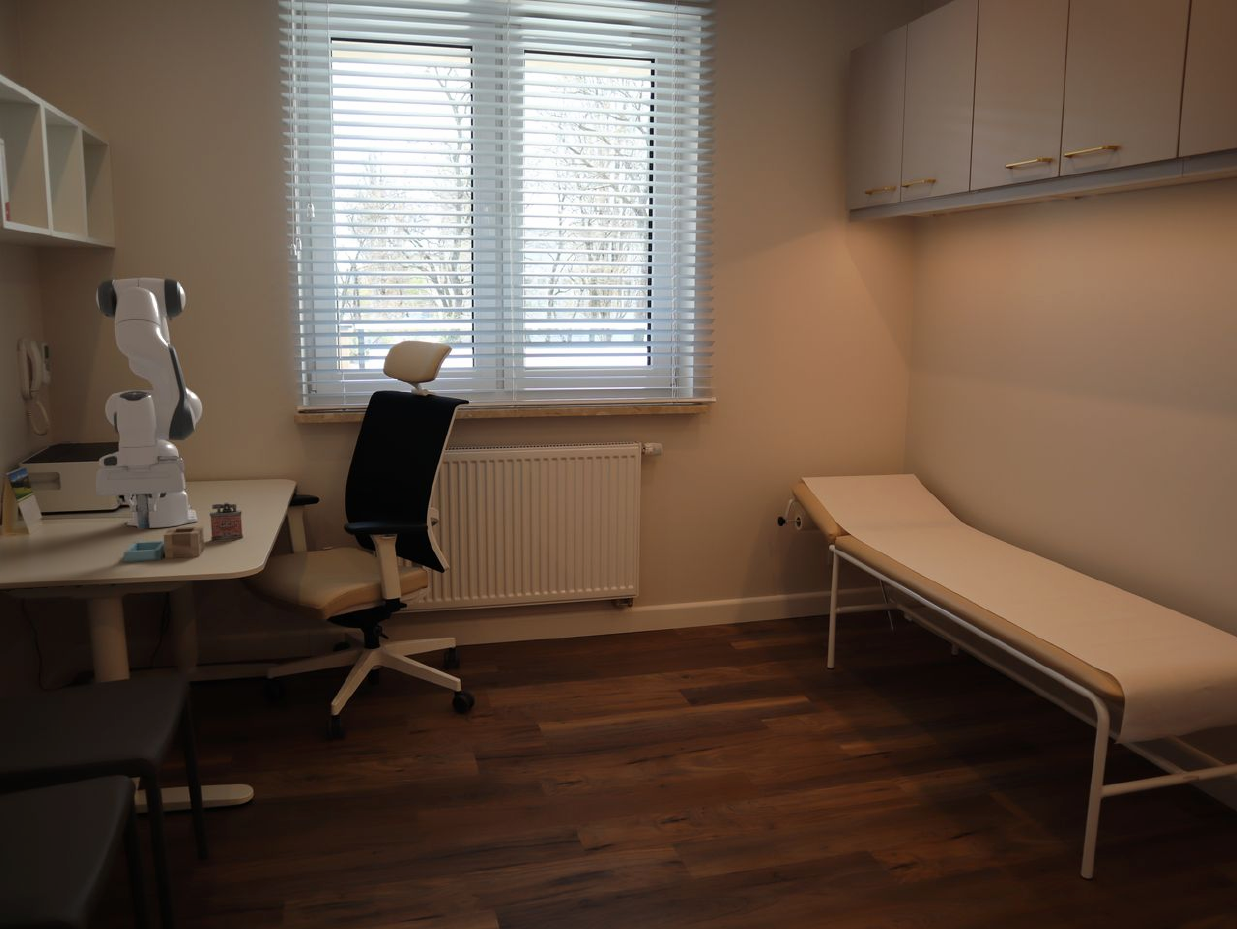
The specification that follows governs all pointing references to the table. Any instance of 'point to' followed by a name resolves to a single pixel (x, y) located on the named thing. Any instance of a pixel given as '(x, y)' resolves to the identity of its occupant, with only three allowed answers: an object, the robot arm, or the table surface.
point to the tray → (145, 551)
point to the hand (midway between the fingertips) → (143, 511)
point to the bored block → (184, 542)
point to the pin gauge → (142, 511)
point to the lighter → (226, 522)
